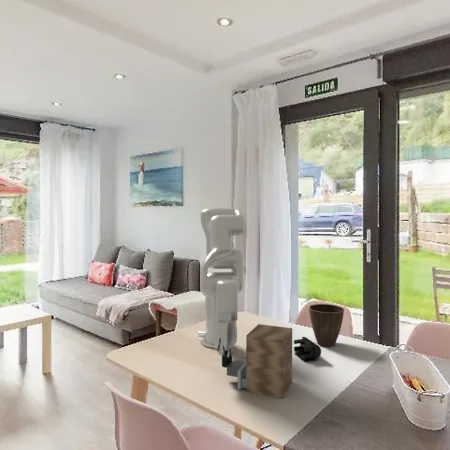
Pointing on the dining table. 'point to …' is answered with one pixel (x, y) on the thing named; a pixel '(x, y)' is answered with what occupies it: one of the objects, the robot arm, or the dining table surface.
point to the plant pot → (326, 323)
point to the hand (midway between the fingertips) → (226, 366)
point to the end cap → (307, 350)
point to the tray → (238, 371)
